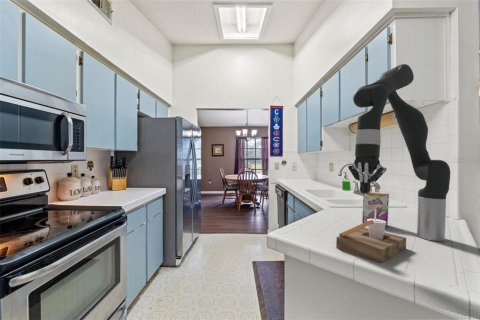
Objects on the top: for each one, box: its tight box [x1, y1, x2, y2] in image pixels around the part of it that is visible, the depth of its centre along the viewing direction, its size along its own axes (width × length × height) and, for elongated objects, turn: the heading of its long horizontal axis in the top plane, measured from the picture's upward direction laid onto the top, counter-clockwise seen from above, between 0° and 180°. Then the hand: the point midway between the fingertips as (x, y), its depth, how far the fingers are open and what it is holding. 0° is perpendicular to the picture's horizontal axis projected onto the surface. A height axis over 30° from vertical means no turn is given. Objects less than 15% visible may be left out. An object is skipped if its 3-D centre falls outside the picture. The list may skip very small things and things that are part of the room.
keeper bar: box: [338, 220, 374, 237], centre depth 82 cm, size 3×13×1 cm
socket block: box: [335, 227, 407, 264], centre depth 85 cm, size 22×15×4 cm
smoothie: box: [367, 209, 386, 241], centre depth 87 cm, size 6×6×14 cm
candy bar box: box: [361, 190, 390, 228], centre depth 118 cm, size 11×5×16 cm, turn 58°
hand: (364, 193), depth 81 cm, fingers closed
